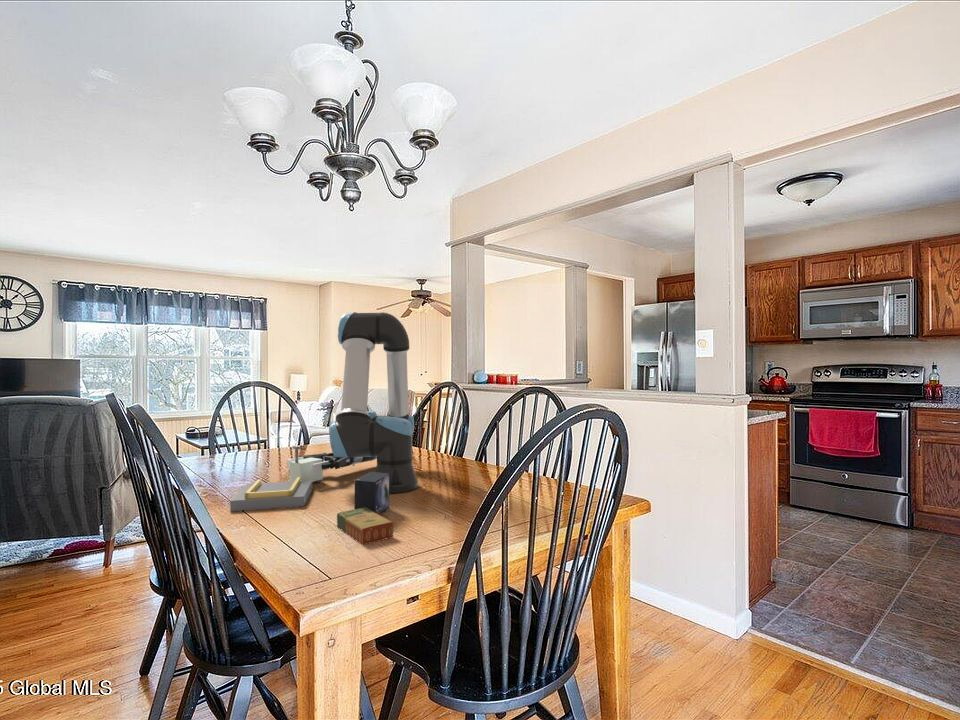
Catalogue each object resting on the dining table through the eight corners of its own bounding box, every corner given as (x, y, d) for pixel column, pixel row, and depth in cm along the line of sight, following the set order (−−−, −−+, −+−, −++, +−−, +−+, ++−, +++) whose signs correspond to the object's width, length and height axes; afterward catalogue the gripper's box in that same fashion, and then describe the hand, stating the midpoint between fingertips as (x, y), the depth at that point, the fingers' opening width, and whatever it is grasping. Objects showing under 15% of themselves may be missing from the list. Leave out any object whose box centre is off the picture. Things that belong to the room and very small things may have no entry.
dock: (312, 489, 171) (312, 475, 171) (304, 506, 151) (303, 491, 151) (247, 493, 167) (247, 479, 167) (230, 511, 147) (230, 495, 147)
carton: (361, 546, 120) (361, 528, 120) (336, 528, 133) (335, 511, 133) (394, 538, 125) (393, 520, 125) (366, 521, 138) (366, 505, 138)
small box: (376, 520, 138) (375, 481, 138) (353, 518, 140) (352, 480, 139) (390, 508, 149) (390, 472, 148) (369, 507, 150) (369, 471, 150)
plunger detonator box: (322, 482, 181) (322, 443, 180) (301, 487, 173) (300, 447, 173) (311, 479, 184) (311, 441, 184) (289, 485, 176) (289, 445, 176)
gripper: (371, 469, 187) (324, 481, 169) (325, 462, 201) (277, 472, 183) (371, 448, 187) (323, 459, 169) (325, 442, 201) (277, 451, 183)
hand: (299, 466), depth 176 cm, fingers open, 13 cm apart
